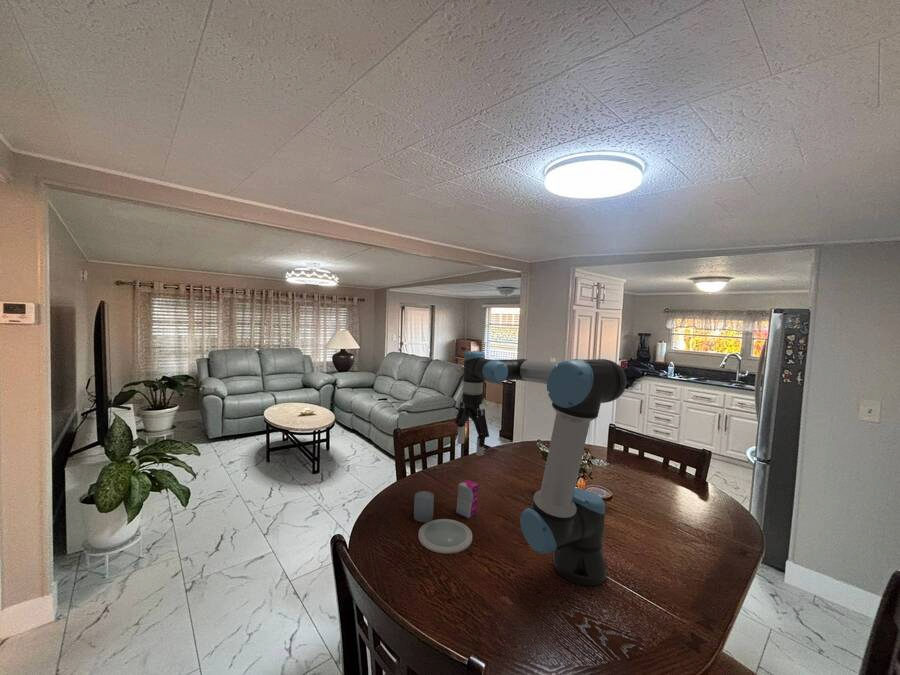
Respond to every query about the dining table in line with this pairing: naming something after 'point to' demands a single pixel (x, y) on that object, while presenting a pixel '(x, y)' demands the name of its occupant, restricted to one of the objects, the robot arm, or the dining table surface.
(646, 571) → the dining table surface
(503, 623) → the dining table surface
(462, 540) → the dish
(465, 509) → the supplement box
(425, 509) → the cylinder block
